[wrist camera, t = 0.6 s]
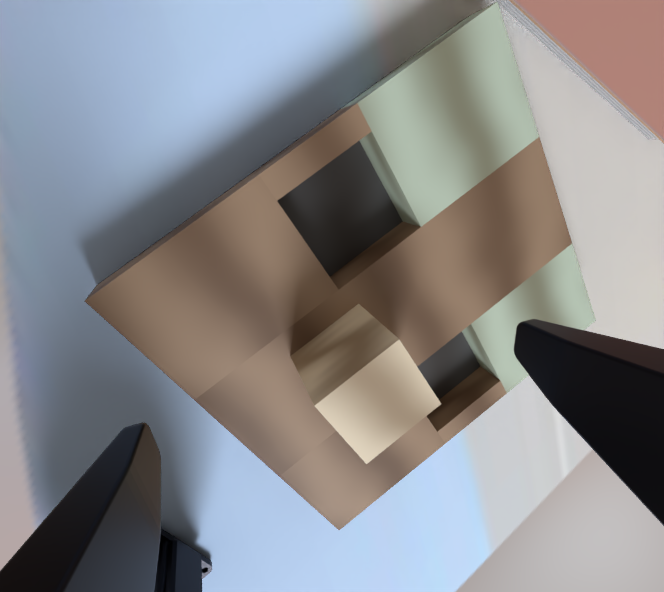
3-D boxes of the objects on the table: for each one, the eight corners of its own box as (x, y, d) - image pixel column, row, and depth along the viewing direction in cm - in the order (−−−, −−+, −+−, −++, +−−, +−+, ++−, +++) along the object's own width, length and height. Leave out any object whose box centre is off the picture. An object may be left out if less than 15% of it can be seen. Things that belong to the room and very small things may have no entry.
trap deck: (328, 503, 30) (339, 530, 28) (96, 285, 20) (84, 300, 18) (567, 309, 32) (595, 320, 30) (466, 17, 22) (497, 1, 20)
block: (335, 408, 24) (366, 464, 20) (290, 356, 22) (314, 405, 18) (396, 359, 25) (441, 403, 20) (358, 303, 23) (399, 339, 18)
